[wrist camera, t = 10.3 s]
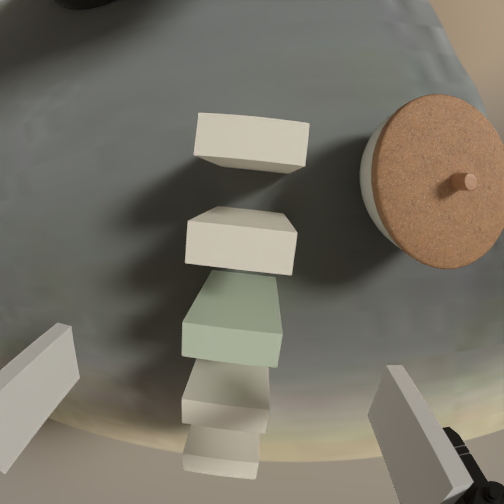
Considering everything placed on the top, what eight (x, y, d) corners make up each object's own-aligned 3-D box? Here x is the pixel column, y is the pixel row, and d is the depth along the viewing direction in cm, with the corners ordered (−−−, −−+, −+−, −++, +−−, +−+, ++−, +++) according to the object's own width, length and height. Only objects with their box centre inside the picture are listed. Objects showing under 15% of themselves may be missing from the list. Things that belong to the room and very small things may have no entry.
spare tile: (212, 269, 25) (182, 322, 16) (275, 277, 25) (282, 334, 16) (210, 293, 26) (181, 355, 16) (272, 300, 26) (277, 367, 16)
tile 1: (224, 141, 23) (198, 112, 13) (290, 147, 23) (309, 123, 13) (221, 166, 24) (193, 155, 14) (288, 173, 24) (305, 166, 14)
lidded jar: (440, 257, 25) (505, 290, 15) (328, 228, 24) (364, 255, 15) (464, 141, 22) (535, 131, 13) (356, 98, 22) (402, 57, 13)
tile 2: (217, 206, 24) (187, 220, 15) (283, 213, 24) (297, 232, 14) (215, 232, 25) (184, 263, 15) (280, 239, 25) (291, 275, 15)
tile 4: (208, 326, 26) (181, 398, 17) (267, 333, 26) (269, 409, 17) (206, 347, 27) (182, 422, 17) (264, 354, 27) (264, 433, 17)
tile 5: (205, 375, 27) (182, 453, 18) (260, 381, 27) (258, 463, 18) (204, 392, 28) (183, 470, 18) (258, 398, 28) (255, 479, 18)
